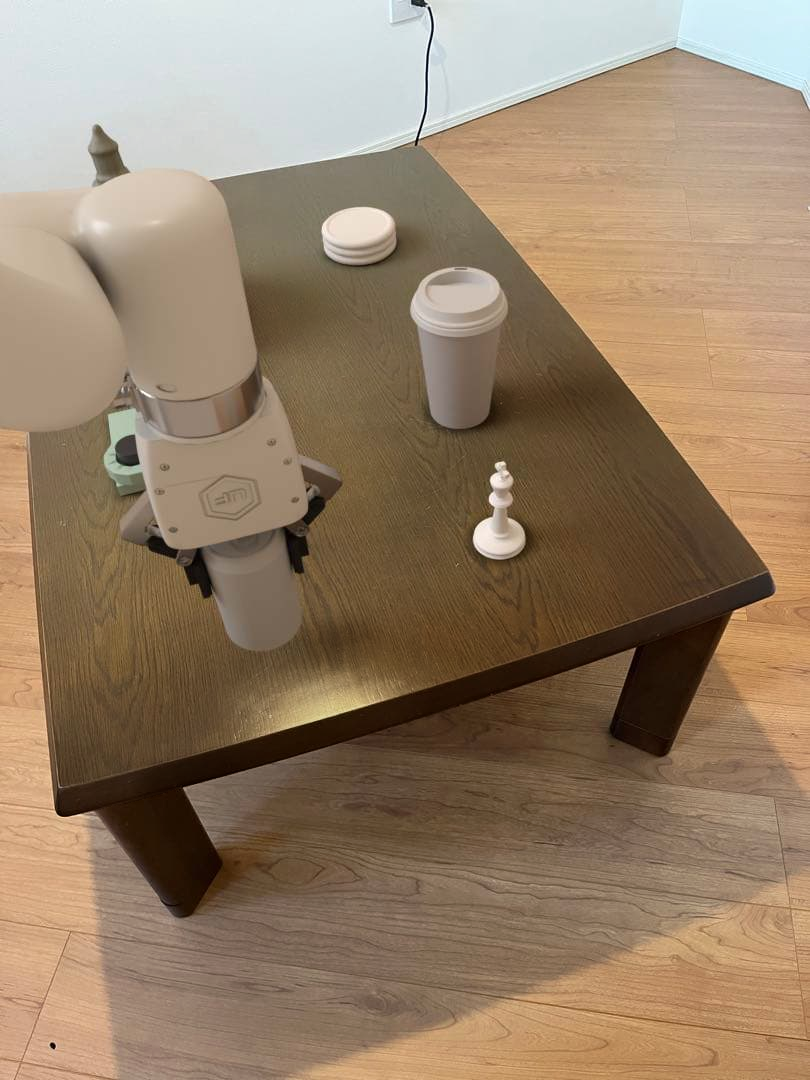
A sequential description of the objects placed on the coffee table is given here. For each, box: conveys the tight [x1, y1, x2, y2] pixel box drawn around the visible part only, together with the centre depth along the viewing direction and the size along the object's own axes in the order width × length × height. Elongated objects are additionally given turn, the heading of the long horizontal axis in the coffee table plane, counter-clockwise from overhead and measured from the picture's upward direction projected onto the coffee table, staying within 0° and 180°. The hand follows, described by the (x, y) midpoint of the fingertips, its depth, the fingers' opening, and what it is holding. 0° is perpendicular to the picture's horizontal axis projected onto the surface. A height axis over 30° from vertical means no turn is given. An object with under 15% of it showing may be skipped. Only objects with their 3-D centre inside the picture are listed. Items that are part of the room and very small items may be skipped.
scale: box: [103, 408, 147, 497], centre depth 89 cm, size 14×12×3 cm
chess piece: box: [472, 460, 526, 561], centre depth 75 cm, size 5×5×10 cm
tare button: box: [115, 434, 140, 466], centre depth 85 cm, size 3×3×2 cm
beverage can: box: [200, 527, 303, 652], centre depth 65 cm, size 6×6×12 cm
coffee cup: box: [409, 266, 509, 430], centre depth 85 cm, size 10×10×15 cm
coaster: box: [321, 206, 397, 266], centre depth 113 cm, size 10×10×4 cm
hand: (251, 570), depth 64 cm, fingers closed on beverage can, 6 cm apart
